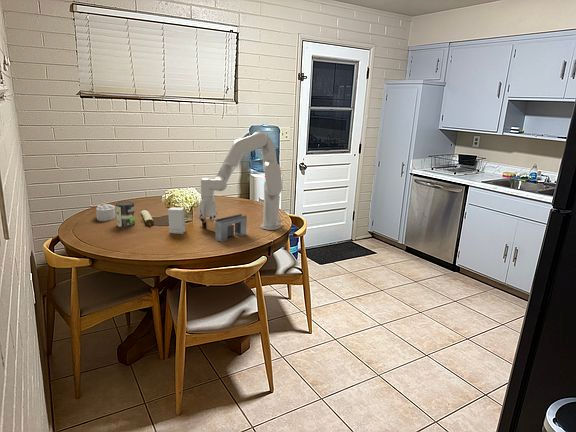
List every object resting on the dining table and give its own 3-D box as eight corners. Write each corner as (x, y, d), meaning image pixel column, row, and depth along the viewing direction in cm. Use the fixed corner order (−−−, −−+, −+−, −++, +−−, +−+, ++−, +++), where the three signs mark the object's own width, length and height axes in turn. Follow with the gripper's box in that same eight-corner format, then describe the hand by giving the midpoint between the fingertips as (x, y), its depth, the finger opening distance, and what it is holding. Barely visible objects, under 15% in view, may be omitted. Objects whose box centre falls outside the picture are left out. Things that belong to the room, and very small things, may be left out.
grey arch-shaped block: (240, 233, 236) (240, 213, 233) (246, 235, 233) (246, 215, 230) (215, 239, 222) (215, 219, 219) (221, 242, 219) (221, 221, 216)
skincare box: (185, 231, 234) (185, 207, 230) (183, 234, 228) (182, 209, 224) (171, 230, 234) (170, 206, 230) (168, 234, 228) (167, 209, 224)
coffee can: (138, 224, 243) (137, 202, 239) (129, 229, 233) (127, 205, 229) (123, 222, 245) (122, 200, 241) (113, 227, 235) (111, 204, 231)
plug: (206, 225, 246) (206, 215, 244) (233, 234, 229) (233, 225, 228) (199, 226, 242) (199, 217, 240) (226, 236, 226) (226, 226, 224)
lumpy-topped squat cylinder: (117, 216, 258) (116, 203, 256) (112, 221, 246) (111, 208, 244) (100, 215, 256) (99, 203, 254) (94, 221, 244) (93, 207, 242)
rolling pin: (154, 228, 237) (154, 220, 235) (145, 229, 234) (144, 221, 233) (149, 215, 265) (148, 207, 264) (140, 215, 262) (140, 208, 261)
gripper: (214, 195, 244) (214, 223, 249) (192, 199, 232) (192, 228, 237) (222, 197, 240) (222, 226, 245) (199, 201, 227) (200, 231, 232)
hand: (207, 227), depth 241 cm, fingers closed on plug, 4 cm apart
